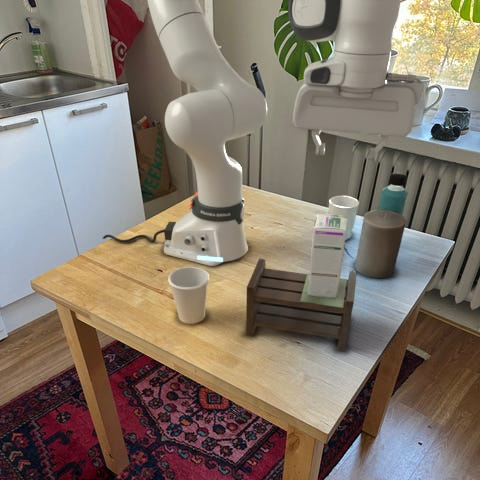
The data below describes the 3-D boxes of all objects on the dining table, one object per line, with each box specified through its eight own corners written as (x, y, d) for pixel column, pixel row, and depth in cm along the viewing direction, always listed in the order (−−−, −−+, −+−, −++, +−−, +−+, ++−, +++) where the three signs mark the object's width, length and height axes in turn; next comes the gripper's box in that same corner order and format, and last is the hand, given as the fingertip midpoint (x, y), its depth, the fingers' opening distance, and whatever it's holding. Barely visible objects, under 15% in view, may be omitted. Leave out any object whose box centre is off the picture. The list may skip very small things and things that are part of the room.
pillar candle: (402, 271, 112) (416, 215, 103) (373, 283, 108) (386, 226, 99) (373, 255, 119) (385, 201, 110) (346, 265, 115) (355, 210, 105)
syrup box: (337, 299, 85) (348, 229, 76) (305, 295, 86) (313, 226, 77) (338, 283, 90) (349, 215, 81) (308, 279, 91) (316, 212, 82)
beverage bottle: (366, 241, 125) (381, 169, 112) (390, 240, 125) (406, 169, 113) (374, 253, 119) (390, 179, 107) (398, 252, 120) (417, 178, 108)
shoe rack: (245, 335, 93) (246, 287, 85) (257, 304, 101) (259, 258, 94) (344, 351, 89) (353, 302, 82) (347, 318, 97) (356, 271, 90)
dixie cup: (168, 309, 100) (163, 270, 94) (204, 301, 102) (202, 263, 96) (178, 331, 94) (173, 291, 88) (216, 322, 96) (214, 283, 90)
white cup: (357, 233, 129) (363, 199, 122) (346, 244, 123) (352, 210, 117) (331, 226, 132) (336, 193, 126) (320, 236, 127) (324, 203, 120)
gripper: (425, 71, 73) (404, 156, 82) (300, 64, 77) (293, 146, 86) (427, 79, 69) (405, 168, 77) (294, 71, 73) (288, 157, 81)
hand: (345, 157), depth 82 cm, fingers open, 8 cm apart
